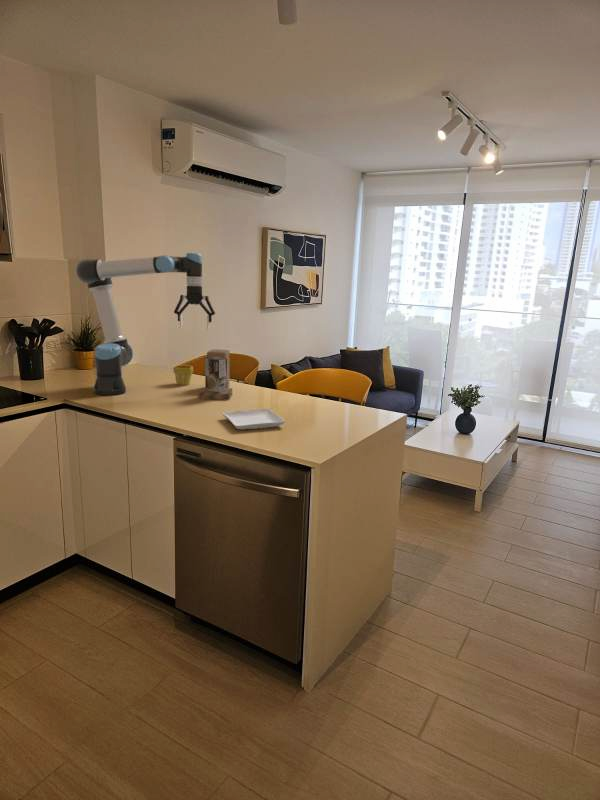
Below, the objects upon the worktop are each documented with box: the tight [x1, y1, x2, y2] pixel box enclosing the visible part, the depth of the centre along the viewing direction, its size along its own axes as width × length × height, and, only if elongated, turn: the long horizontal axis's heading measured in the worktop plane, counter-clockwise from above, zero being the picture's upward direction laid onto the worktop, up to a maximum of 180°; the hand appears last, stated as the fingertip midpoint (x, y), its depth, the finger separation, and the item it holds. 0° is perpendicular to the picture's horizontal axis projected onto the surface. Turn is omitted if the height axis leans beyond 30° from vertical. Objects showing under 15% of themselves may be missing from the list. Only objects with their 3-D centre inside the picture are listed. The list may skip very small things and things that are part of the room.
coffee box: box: [204, 357, 227, 393], centre depth 263 cm, size 9×6×16 cm
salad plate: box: [221, 408, 286, 431], centre depth 222 cm, size 21×21×3 cm
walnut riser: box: [199, 387, 233, 400], centre depth 265 cm, size 14×12×3 cm
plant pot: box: [172, 364, 194, 386], centre depth 290 cm, size 10×10×10 cm
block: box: [206, 348, 231, 388], centre depth 282 cm, size 10×10×20 cm
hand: (194, 328), depth 271 cm, fingers open, 13 cm apart
